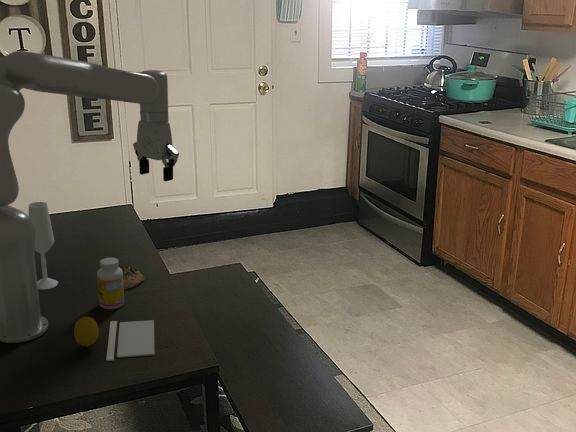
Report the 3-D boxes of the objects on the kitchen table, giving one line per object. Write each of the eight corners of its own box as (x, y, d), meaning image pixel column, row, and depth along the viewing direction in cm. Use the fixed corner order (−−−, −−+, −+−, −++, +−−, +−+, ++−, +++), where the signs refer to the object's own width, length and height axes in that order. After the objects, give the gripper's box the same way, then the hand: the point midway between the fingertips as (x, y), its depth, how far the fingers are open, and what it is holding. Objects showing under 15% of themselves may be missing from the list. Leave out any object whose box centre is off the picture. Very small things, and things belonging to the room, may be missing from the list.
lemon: (92, 354, 145) (90, 324, 142) (70, 351, 146) (68, 320, 143) (103, 342, 150) (101, 312, 147) (82, 339, 151) (80, 309, 148)
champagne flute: (63, 283, 179) (56, 204, 171) (43, 291, 173) (34, 210, 165) (48, 277, 182) (40, 199, 174) (28, 285, 177) (19, 205, 169)
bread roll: (109, 273, 186) (110, 258, 184) (146, 278, 188) (148, 263, 186) (101, 291, 176) (102, 275, 174) (140, 296, 177) (142, 280, 176)
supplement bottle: (98, 300, 170) (95, 257, 165) (122, 297, 172) (120, 254, 168) (100, 311, 164) (97, 267, 160) (125, 308, 166) (123, 264, 162)
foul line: (106, 361, 142) (106, 360, 142) (110, 322, 159) (110, 321, 159) (113, 360, 142) (113, 359, 142) (117, 322, 159) (117, 321, 159)
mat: (116, 357, 144) (116, 356, 143) (119, 323, 158) (119, 322, 158) (154, 355, 145) (154, 353, 145) (153, 321, 160) (153, 320, 160)
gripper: (122, 114, 172) (125, 173, 178) (166, 123, 163) (168, 185, 168) (143, 111, 178) (145, 168, 183) (186, 119, 168) (187, 180, 174)
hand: (156, 177), depth 176 cm, fingers open, 9 cm apart
